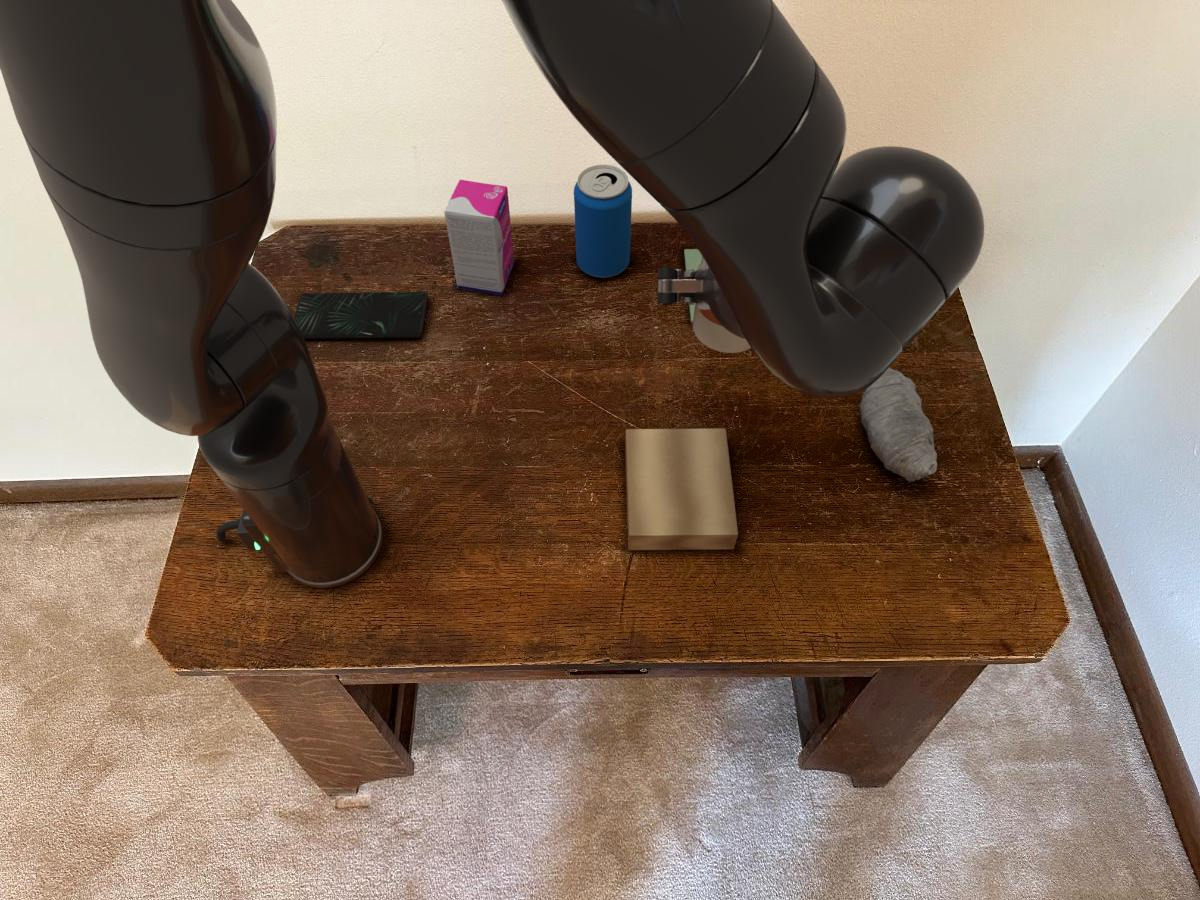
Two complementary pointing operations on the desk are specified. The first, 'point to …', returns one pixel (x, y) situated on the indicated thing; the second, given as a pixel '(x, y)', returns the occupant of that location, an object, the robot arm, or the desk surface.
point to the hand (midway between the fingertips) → (731, 287)
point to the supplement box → (480, 236)
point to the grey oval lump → (898, 426)
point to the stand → (679, 490)
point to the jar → (716, 332)
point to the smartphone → (361, 315)
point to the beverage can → (603, 220)
